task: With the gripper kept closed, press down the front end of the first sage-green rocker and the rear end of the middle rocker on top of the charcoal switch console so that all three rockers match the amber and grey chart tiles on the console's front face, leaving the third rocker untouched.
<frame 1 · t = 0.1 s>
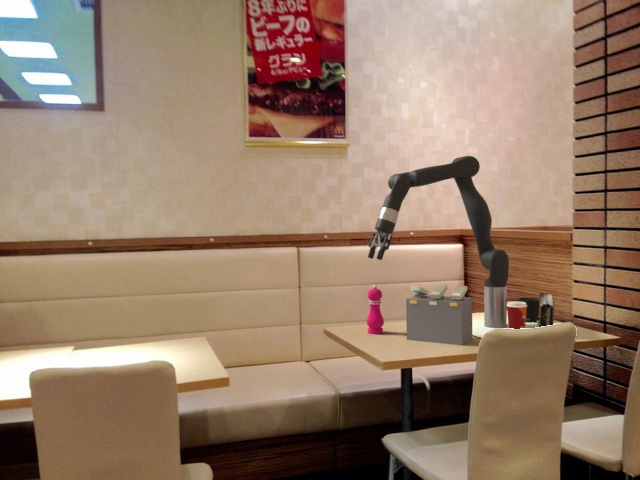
hand: (374, 258, 231), 31 cm above the table, tool tilted 20°, fingers open, 8 cm apart
paper cup: (516, 338, 224), on the table
console: (439, 339, 225), on the table
rocker c: (459, 292, 220), point 19 cm above the table, hinge at 18.0°
rocker a: (419, 290, 229), point 19 cm above the table, hinge at -18.0°
pepper mill: (375, 333, 240), on the table
rocker b: (438, 291, 224), point 19 cm above the table, hinge at 18.0°
pen holder: (528, 321, 260), on the table
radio: (547, 333, 234), on the table
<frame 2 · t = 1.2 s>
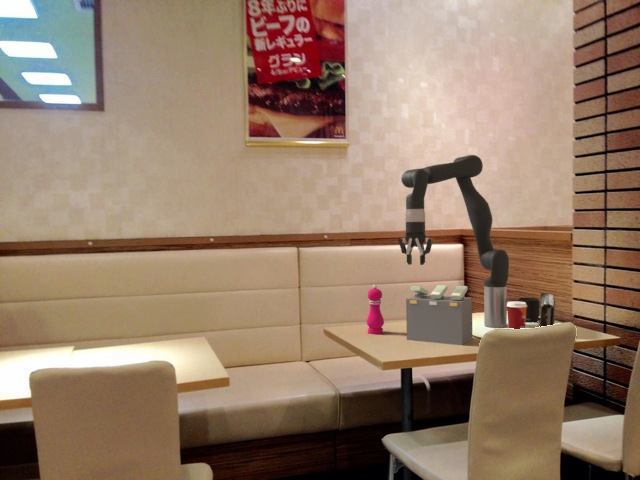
hand: (415, 264, 225), 29 cm above the table, tool pointing down, fingers open, 4 cm apart
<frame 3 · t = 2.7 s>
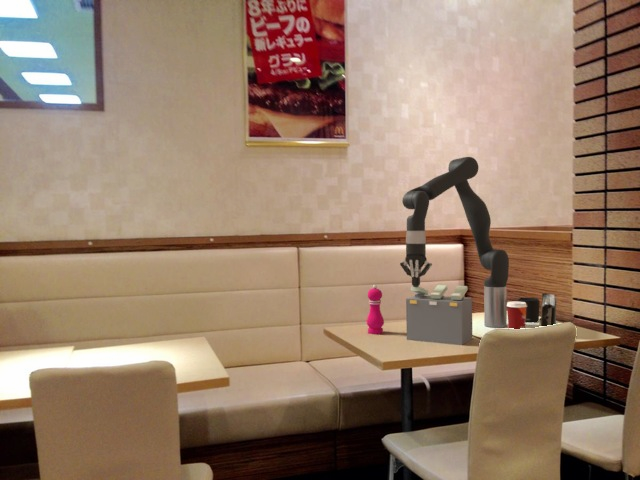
hand: (415, 286, 225), 21 cm above the table, tool pointing down, fingers closed
rocker a: (419, 290, 229), point 19 cm above the table, hinge at -16.6°, touching gripper
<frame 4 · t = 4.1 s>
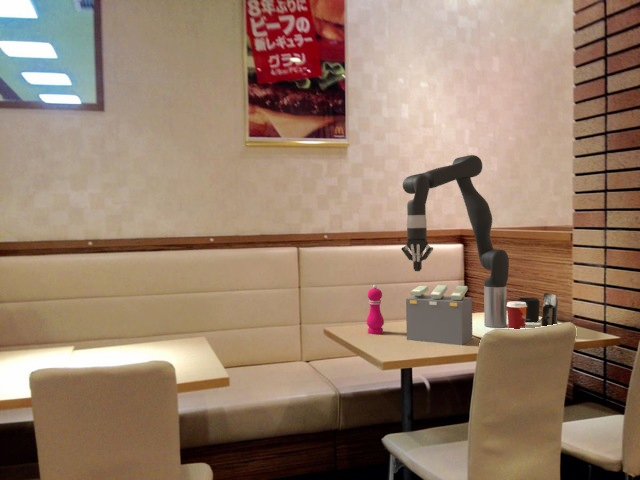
hand: (417, 271, 225), 27 cm above the table, tool pointing down, fingers closed
rocker a: (419, 290, 229), point 19 cm above the table, hinge at 7.7°
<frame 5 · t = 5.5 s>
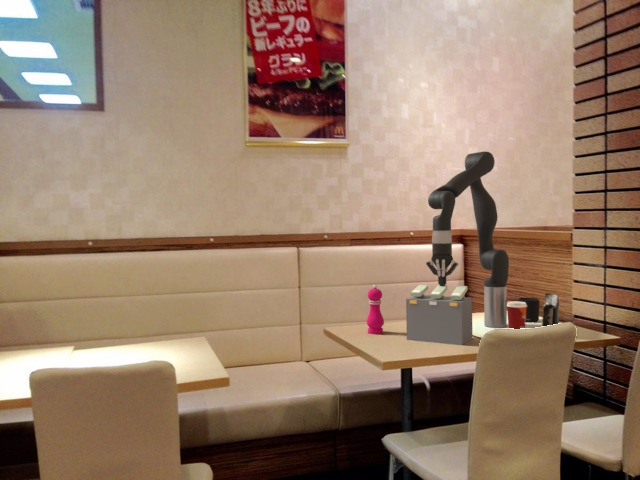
hand: (442, 285, 228), 20 cm above the table, tool pointing down, fingers closed
rocker a: (419, 290, 229), point 19 cm above the table, hinge at 12.9°
rocker b: (438, 291, 224), point 19 cm above the table, hinge at 16.4°, touching gripper
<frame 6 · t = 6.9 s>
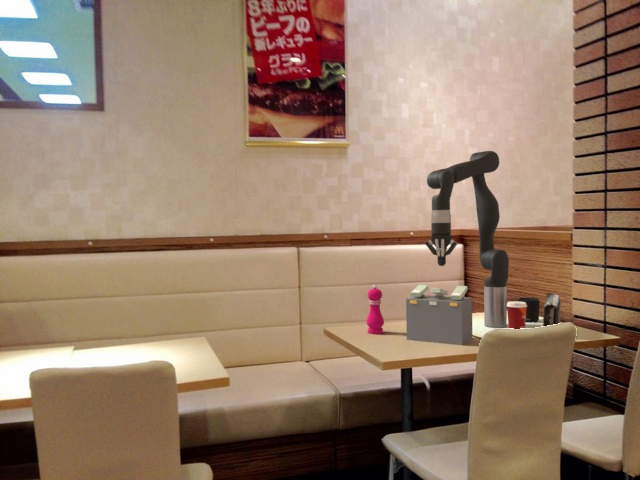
hand: (441, 265, 227), 28 cm above the table, tool pointing down, fingers closed
rocker a: (419, 290, 229), point 19 cm above the table, hinge at 13.9°
rocker b: (439, 291, 224), point 19 cm above the table, hinge at -13.4°
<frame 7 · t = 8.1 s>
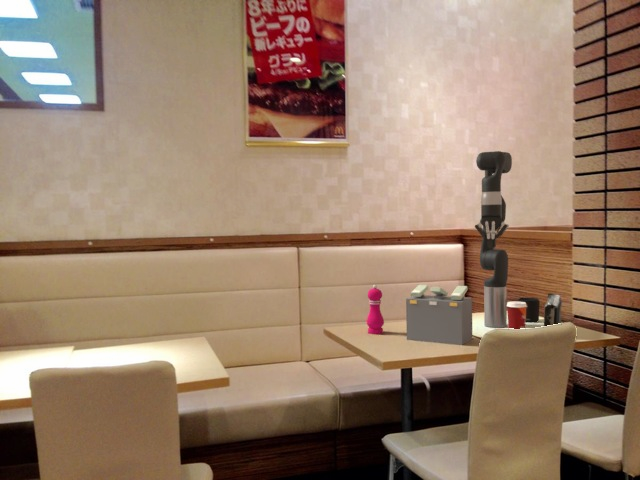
hand: (491, 248, 222), 35 cm above the table, tool pointing down, fingers closed
rocker b: (439, 291, 224), point 19 cm above the table, hinge at -18.8°
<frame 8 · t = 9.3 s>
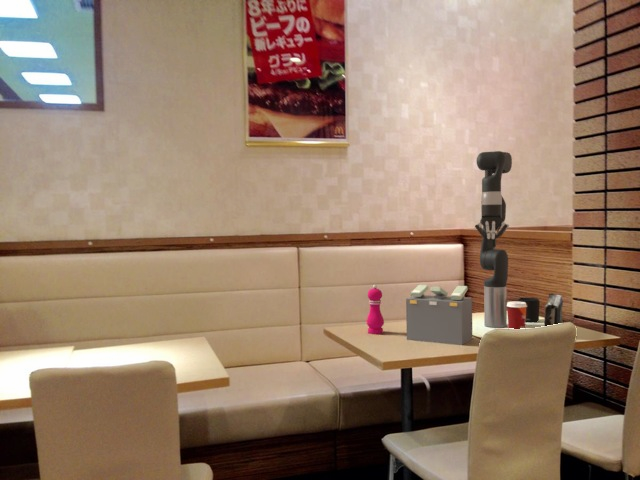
hand: (491, 248, 222), 35 cm above the table, tool pointing down, fingers closed
rocker b: (439, 291, 224), point 19 cm above the table, hinge at -20.0°
at the end: rocker a at +14° (first picture: -18°); rocker b at -20° (first picture: +18°); rocker c at +18° (first picture: +18°) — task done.
